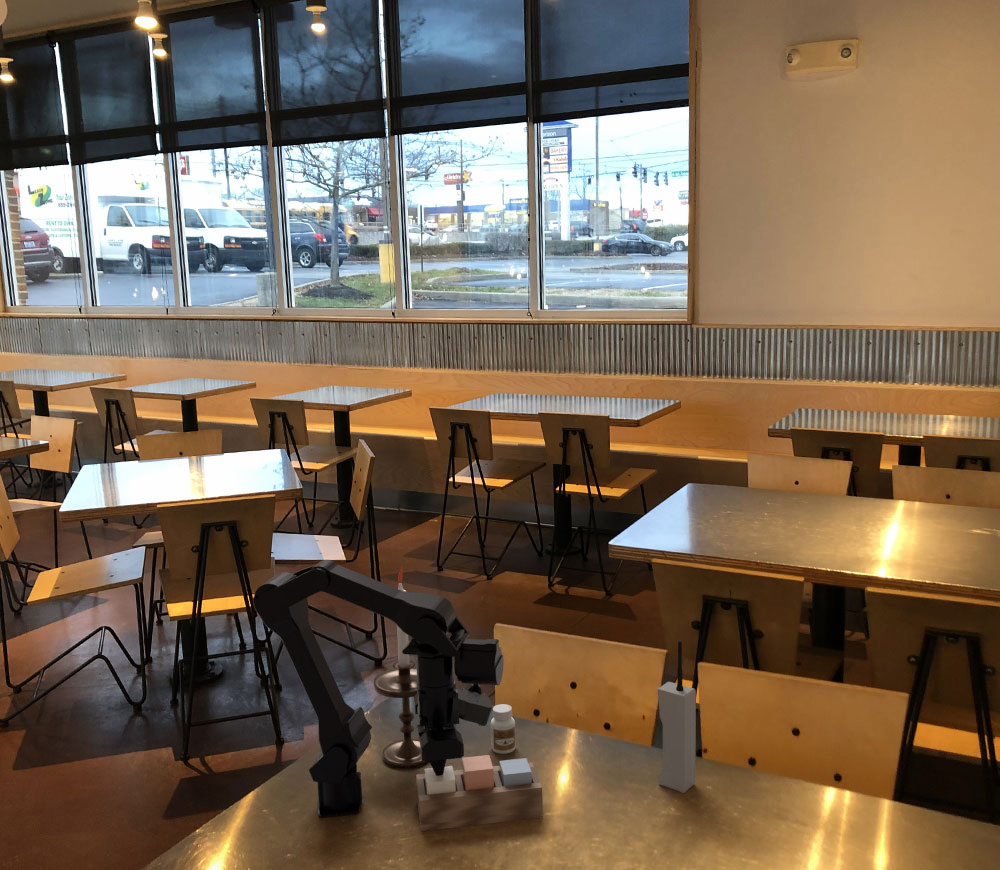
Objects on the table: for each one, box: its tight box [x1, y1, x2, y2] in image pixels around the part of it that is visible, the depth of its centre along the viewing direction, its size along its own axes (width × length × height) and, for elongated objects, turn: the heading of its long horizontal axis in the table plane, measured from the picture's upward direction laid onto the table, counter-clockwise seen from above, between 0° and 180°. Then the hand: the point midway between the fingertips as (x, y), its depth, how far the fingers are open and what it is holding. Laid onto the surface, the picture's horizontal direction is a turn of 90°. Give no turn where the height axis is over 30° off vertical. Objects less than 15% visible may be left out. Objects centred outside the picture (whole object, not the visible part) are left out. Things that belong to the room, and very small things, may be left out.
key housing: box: [415, 761, 544, 832], centre depth 148 cm, size 19×8×5 cm, turn 99°
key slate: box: [499, 757, 532, 787], centre depth 149 cm, size 4×4×4 cm
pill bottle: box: [490, 703, 517, 755], centre depth 168 cm, size 4×4×8 cm
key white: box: [424, 765, 456, 795], centre depth 147 cm, size 4×4×4 cm
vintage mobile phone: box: [657, 640, 697, 794], centre depth 153 cm, size 4×5×25 cm
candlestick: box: [373, 566, 430, 770], centre depth 164 cm, size 11×11×35 cm
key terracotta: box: [461, 754, 494, 791], centre depth 148 cm, size 4×4×4 cm
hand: (439, 774), depth 147 cm, fingers closed, pressing on key white
